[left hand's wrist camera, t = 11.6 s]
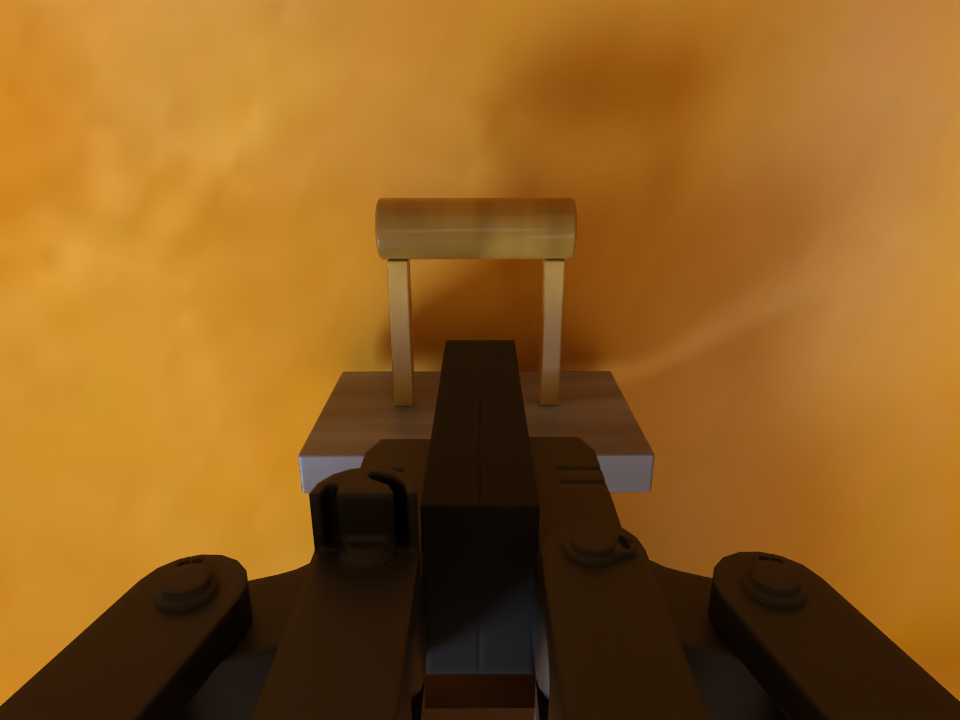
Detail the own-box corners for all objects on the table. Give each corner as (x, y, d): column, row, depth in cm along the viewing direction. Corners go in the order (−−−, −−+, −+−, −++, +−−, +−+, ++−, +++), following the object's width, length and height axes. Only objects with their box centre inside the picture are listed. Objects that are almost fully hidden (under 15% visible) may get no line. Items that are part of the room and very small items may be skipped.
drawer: (327, 188, 21) (270, 215, 15) (624, 187, 21) (680, 215, 15) (370, 726, 29) (344, 877, 23) (584, 726, 29) (611, 876, 23)
